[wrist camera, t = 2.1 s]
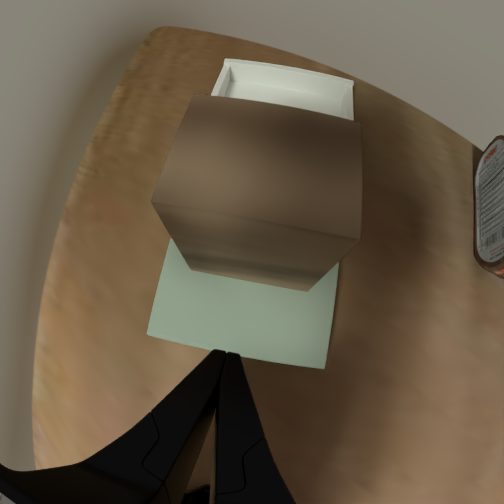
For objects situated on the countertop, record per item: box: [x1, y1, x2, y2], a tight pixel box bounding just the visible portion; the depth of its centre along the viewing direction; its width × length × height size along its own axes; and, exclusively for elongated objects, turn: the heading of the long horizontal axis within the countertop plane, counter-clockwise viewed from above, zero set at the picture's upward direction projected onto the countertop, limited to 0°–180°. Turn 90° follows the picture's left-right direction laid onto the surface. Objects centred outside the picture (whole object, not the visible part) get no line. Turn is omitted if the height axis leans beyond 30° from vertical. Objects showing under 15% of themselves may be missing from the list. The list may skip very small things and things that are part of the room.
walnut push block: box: [151, 94, 362, 292], centre depth 17 cm, size 6×8×10 cm
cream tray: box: [211, 58, 354, 121], centre depth 26 cm, size 9×13×3 cm, turn 79°
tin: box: [474, 135, 504, 279], centre depth 21 cm, size 15×3×8 cm, turn 160°
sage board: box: [147, 238, 339, 369], centre depth 23 cm, size 18×12×2 cm, turn 169°
